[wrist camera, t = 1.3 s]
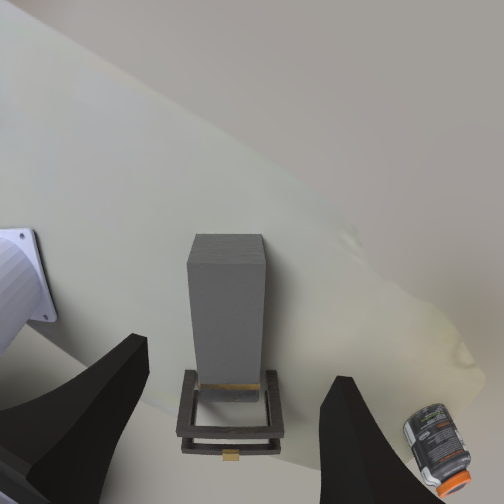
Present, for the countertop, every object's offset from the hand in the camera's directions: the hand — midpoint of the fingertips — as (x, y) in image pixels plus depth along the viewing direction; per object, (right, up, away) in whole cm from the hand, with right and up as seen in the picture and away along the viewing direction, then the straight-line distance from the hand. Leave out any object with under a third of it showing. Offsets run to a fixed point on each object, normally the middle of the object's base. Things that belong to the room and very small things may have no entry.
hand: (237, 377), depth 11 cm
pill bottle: (+21, -15, +19) cm, 33 cm away
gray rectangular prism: (-1, +1, +11) cm, 11 cm away
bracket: (-1, -5, +14) cm, 15 cm away
